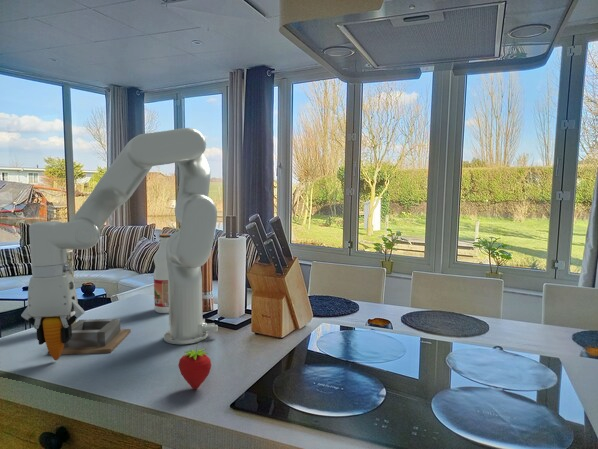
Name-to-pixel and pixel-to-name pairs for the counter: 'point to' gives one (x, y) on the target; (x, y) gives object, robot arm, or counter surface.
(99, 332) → the docking stand
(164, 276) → the fruit juice
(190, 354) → the strawberry
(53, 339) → the carrot
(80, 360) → the counter surface
